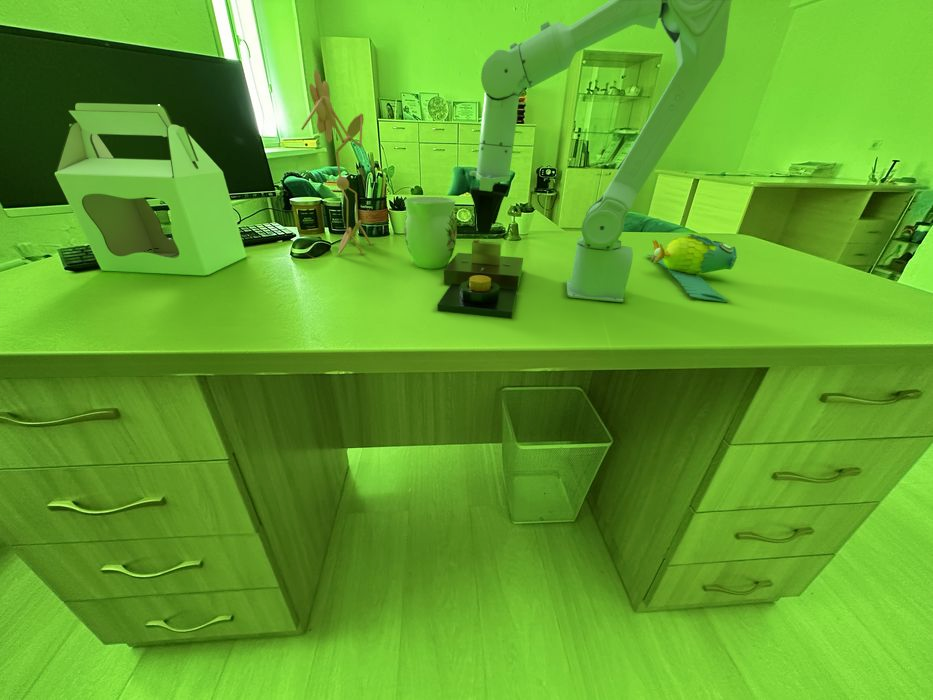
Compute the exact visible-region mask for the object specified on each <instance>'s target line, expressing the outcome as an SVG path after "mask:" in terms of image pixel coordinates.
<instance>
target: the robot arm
mask: <svg viewBox="0 0 933 700" xmlns="http://www.w3.org/2000/svg"><path fill="white" fill-rule="evenodd" d="M731 4H732V0H608V1H607V2H605V3H604V4H602V5H601V6H599V7H597V8H596V9H594V10H592V11H591V12H590V13H588V14H586V15H584V16H583V17H582V18H580V19H578V20H577V21H575V22H574V23H573V24H571V25H566V24H565V23H562V22H560V21H555V22H554V23H552V24H551V23H550V21H548V20H546V21H545V22H543V23H542V24H540V25H539V29H540V31H539V32H537V33H535V34H534V35H532V36H530V37H528V38H527V39H525V40H524V41H522V42H520V43H518V44H517V42H513V43H511V44H509V50H507V49H496V50H495V51H494V52H493V53H492V54H490V55H489V56H488V57H487V59H486V60H485V61H484V63H483V65H482V68H481V74H480V81H481V86H482V88H483V90H484V91H485V92H484V95H483V96H484V98H483V104H482V105H483V106H482V112H481V123H480V132H479V143H478V152H477V153H478V155H477V163H476V164H477V165H476V170H470V171H469V176H470V177H475V178H476V179H477V180H479V185H478V186H479V187H474V186H473V187H471V188H470V189H469V193H470V196H471V199H472V202H473V206H474V211H475V218H476V219H475V222H476V229H477V230H476V231H477V232H478V233H483V234H489V233H490V232H491V230H492V227H493V225H495V224H496V221H497V220H498V216H499V213H500V210H501V206H502V204H503V201H504V199H505V196H506V194H507V192H508V190H509V189H510V188H511V184H508V183H505V182H509V181H510V180H511V175H510V171H511V165H512V159H513V151H514V142H515V136H516V129H517V122H518V108H519V102H520V101H519V100H520V97H521V96H522V95H523V93H524V91H525V89H526V88H527V89H531V88H534V87H536V86H537V85H539V84H541V83H543V82H545V81H546V80H548V79H550V78H552V77H554V76H556V75H558V74H560V73H562V72H564V71H566V70H567V69H569V68H570V66H571V64H572V61H573V60H574V57H575V56H576V54H577V53H578V52H580V51H583V50H585V49H587V48H589V47H591V46H593V45H595V44H597V43H598V42H601V41H603V40H605V39H607V38H609V37H612V36H613V35H615V34H617V33H619V32H621V31H623V30H626V29H627V28H630V27H632V26H639V27H643V28H647V29H652V30H655V29H656V27H657V23H658V21H659V19H660V23H661V26H662V28H663V30H664V31H665V33H666V34H667V36H668V37H669V39H670V41H671V42H672V43H673V48H674V52H675V57H676V63H677V69H676V70H675V72H674V74H673V76H672V77H671V79H670V81H669V82H668V84H667V86H666V87H665V89H664V90H663V93H662V94H661V95H660V98H659V99H658V101H657V103H656V105H655V106H654V108H653V109H652V111H651V113H650V115H649V117H648V118H647V120H646V122H645V123H644V125H643V127H642V129H641V130H640V132H639V134H638V135H637V137H636V139H635V141H634V142H633V144H632V146H631V148H630V149H629V151H628V153H627V154H626V156H625V157H624V159H623V161H622V163H621V164H620V166H619V168H618V170H617V171H616V173H615V175H614V176H613V178H612V180H611V181H610V183H609V184H608V186H607V188H606V189H605V191H604V193H603V194H602V196H601V197H600V198H599V199H598V200H596V201H595V202H594V203H592V204H591V205H590V206H589V208H588V209H587V211H586V213H585V216H584V218H583V220H582V223H581V235H582V236H581V237H579V238H577V243H576V248H575V254H574V260H573V266H572V272H571V276H570V277H571V278H570V280H567V281H566V293H567V297H568V298H570V299H582V300H593V301H602V302H603V301H604V302H614V303H624V300H625V299H624V296H625V294H626V293H625V292H626V289H627V285H628V280H629V278H630V272H631V269H632V264H633V257H634V253H633V248H632V247H631V246H627V245H622V240H620V237H621V236H622V233H623V232H624V225H625V220H626V218H627V215H628V214H629V212H630V210H631V209H632V207H633V205H634V203H635V201H636V198H637V196H638V194H639V193H640V191H641V189H642V188H643V187H644V185H645V184H646V182H647V180H648V179H649V177H650V175H651V174H652V172H653V171H654V169H655V167H656V166H657V164H658V163H659V161H660V160H661V158H662V157H663V155H664V154H665V152H666V151H667V149H668V147H669V146H670V144H671V142H672V141H673V140H674V138H675V136H676V135H677V133H678V131H679V130H680V128H681V127H682V125H683V124H684V122H685V120H686V119H687V117H688V116H689V114H690V113H691V112H692V110H693V108H694V107H695V105H696V104H697V102H698V100H699V98H700V97H701V95H702V94H703V92H704V91H705V89H706V88H707V86H708V84H709V83H710V82H711V80H712V78H713V77H714V75H715V74H716V72H717V70H718V69H719V68H720V66H721V64H722V62H723V59H724V58H725V53H726V52H725V51H726V44H727V37H728V36H727V35H728V28H729V19H730V11H731Z"/></svg>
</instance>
